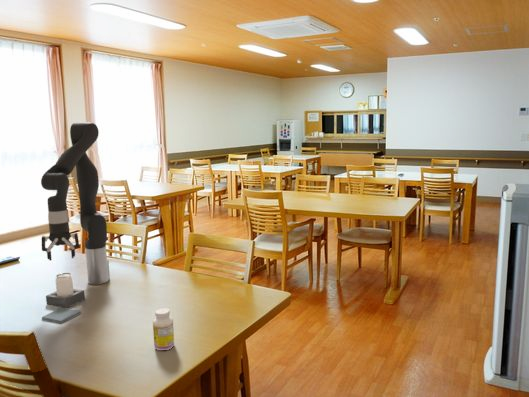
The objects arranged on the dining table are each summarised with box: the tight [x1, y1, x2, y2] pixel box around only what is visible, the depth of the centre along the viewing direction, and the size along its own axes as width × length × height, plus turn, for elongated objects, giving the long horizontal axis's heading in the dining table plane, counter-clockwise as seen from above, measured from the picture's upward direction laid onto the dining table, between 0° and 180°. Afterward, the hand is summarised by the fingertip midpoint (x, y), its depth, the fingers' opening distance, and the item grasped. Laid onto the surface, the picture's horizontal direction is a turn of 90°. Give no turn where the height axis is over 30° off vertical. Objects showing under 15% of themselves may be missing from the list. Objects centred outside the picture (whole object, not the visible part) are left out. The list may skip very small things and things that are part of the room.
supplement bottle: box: [152, 307, 175, 351], centre depth 155 cm, size 7×7×13 cm
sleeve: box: [45, 288, 86, 309], centre depth 197 cm, size 11×11×4 cm
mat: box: [41, 307, 82, 324], centre depth 183 cm, size 10×10×1 cm
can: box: [55, 272, 74, 297], centre depth 196 cm, size 6×6×12 cm
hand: (61, 258), depth 194 cm, fingers open, 8 cm apart
